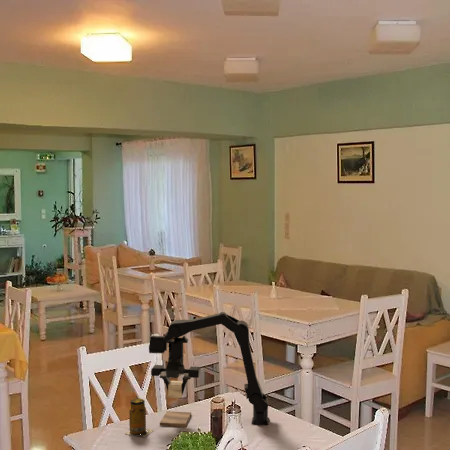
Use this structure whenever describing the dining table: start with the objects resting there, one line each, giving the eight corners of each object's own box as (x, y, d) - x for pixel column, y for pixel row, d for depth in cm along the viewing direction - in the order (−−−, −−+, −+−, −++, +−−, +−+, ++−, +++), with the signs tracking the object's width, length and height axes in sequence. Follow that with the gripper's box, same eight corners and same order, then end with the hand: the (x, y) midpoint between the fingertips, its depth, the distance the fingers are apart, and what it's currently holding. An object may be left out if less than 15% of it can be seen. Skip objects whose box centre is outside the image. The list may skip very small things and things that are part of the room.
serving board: (166, 414, 244) (166, 411, 244) (191, 415, 243) (191, 412, 243) (159, 425, 232) (159, 422, 232) (185, 427, 231) (185, 423, 231)
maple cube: (170, 393, 239) (170, 380, 239) (183, 393, 239) (183, 381, 238) (168, 397, 234) (168, 384, 234) (181, 398, 234) (181, 385, 233)
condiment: (134, 427, 231) (134, 396, 231) (154, 430, 228) (154, 399, 227) (124, 434, 225) (124, 402, 224) (144, 437, 221) (144, 405, 221)
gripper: (147, 358, 229) (147, 398, 230) (196, 360, 226) (196, 401, 227) (154, 350, 240) (154, 389, 241) (201, 352, 237) (200, 391, 238)
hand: (175, 392), depth 236 cm, fingers closed on maple cube, 5 cm apart
